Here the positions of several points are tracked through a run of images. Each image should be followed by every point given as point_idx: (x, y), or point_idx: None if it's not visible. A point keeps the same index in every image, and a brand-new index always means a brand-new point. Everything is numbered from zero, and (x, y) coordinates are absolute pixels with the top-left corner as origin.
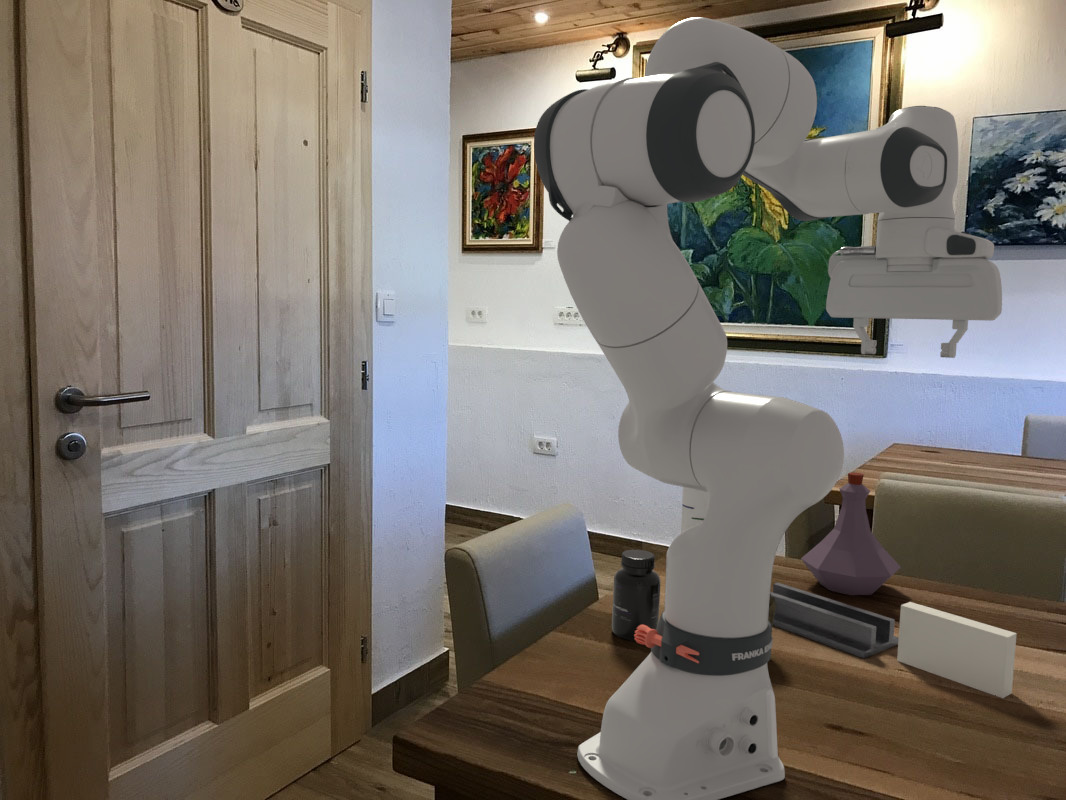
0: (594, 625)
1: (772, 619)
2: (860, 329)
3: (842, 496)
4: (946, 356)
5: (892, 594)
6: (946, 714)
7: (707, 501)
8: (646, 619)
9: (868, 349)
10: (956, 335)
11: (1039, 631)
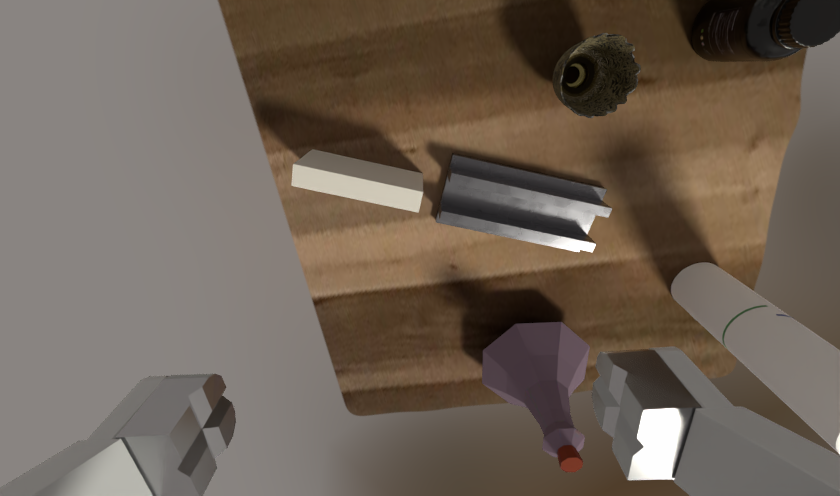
0: None
1: (555, 79)
2: (828, 479)
3: (575, 428)
4: (185, 376)
5: (481, 351)
6: (339, 64)
7: (764, 329)
8: (720, 4)
9: (640, 360)
10: (16, 492)
11: (339, 339)
